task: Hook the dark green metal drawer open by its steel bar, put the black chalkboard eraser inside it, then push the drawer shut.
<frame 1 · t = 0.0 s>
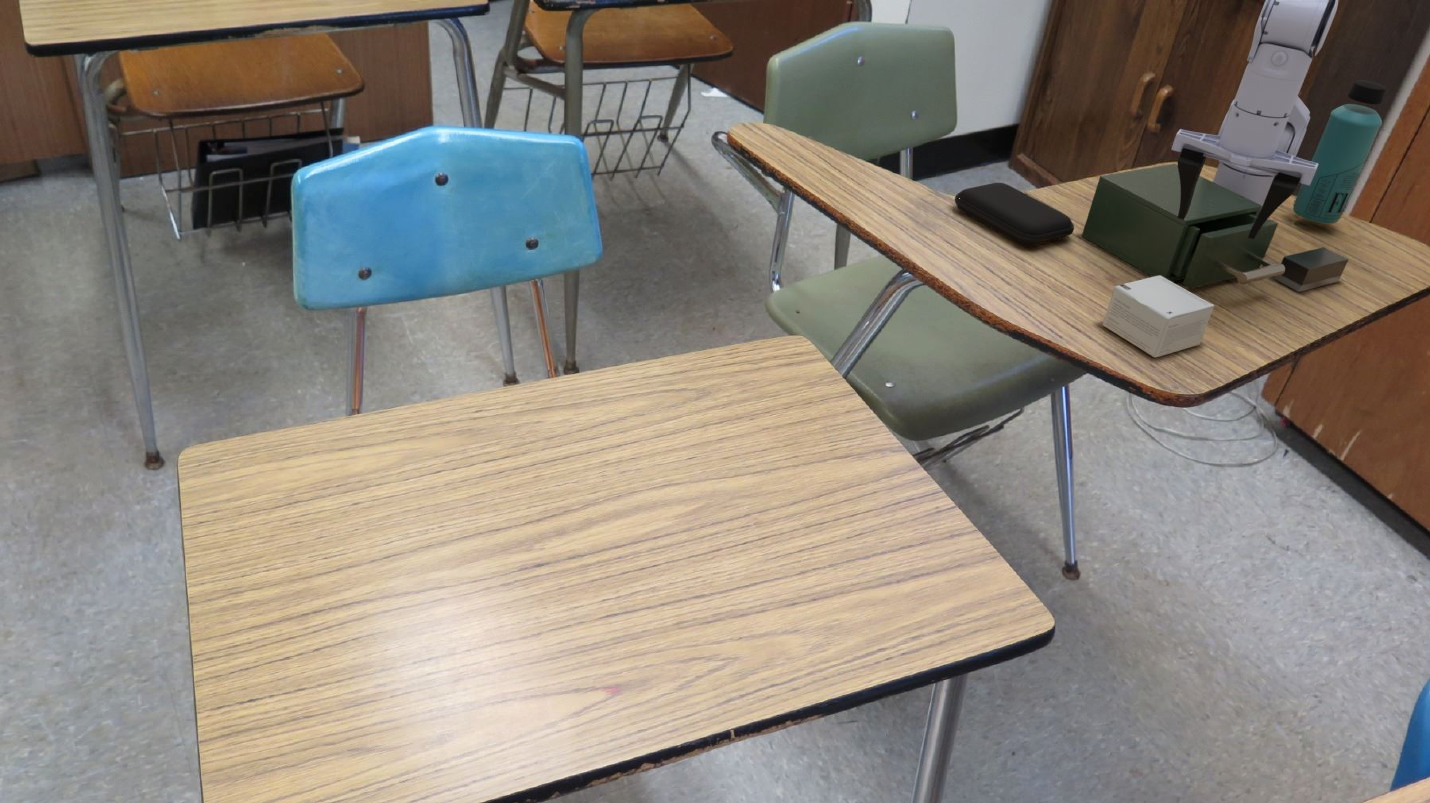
hand: (1216, 225, 122), 10 cm above the table, tool pointing down, fingers open, 7 cm apart
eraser: (1306, 280, 136), on the table
small box: (1149, 336, 121), on the table
drawer: (1207, 241, 133), point 4 cm above the table, slide at 2.0 cm
cabinet: (1158, 251, 140), on the table
carrying case: (1013, 224, 143), on the table
beverage bottle: (1310, 225, 152), on the table
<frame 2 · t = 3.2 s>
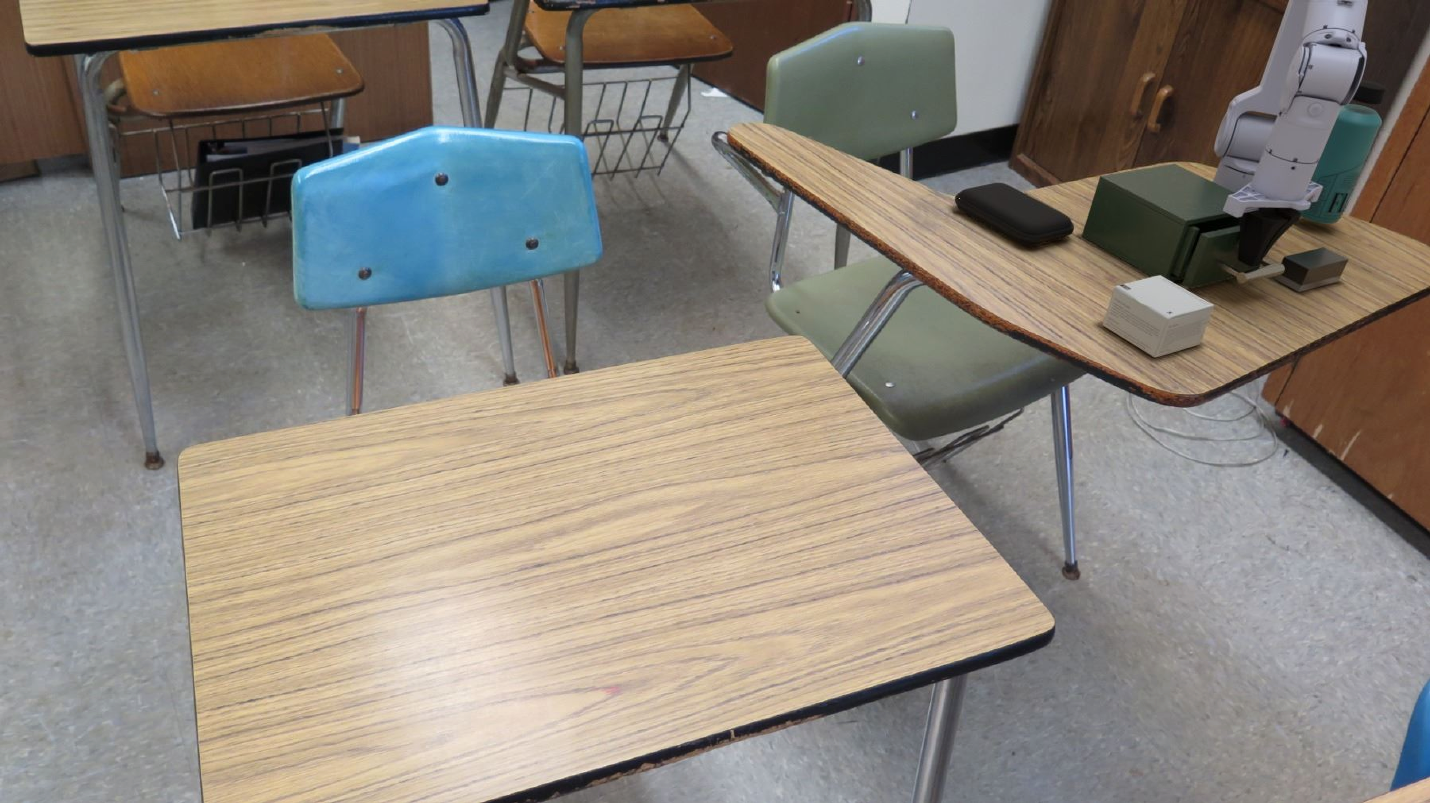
hand: (1247, 262, 129), 4 cm above the table, tool pointing down, fingers closed
nothing on the table moved.
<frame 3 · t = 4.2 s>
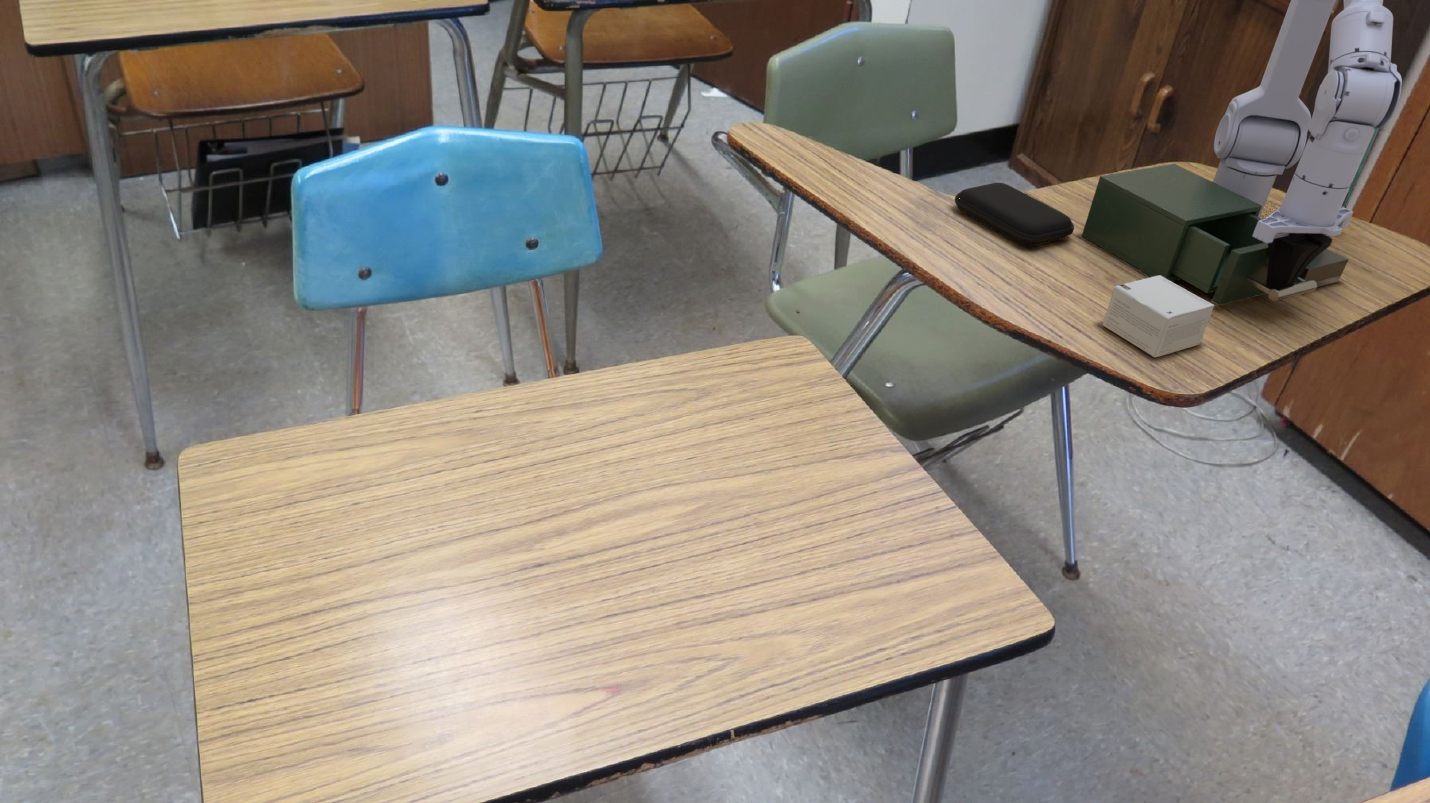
hand: (1276, 288, 126), 3 cm above the table, tool pointing down, fingers closed, pressing on drawer
drawer: (1236, 256, 130), point 4 cm above the table, slide at 6.4 cm, touching gripper
everything else where it was.
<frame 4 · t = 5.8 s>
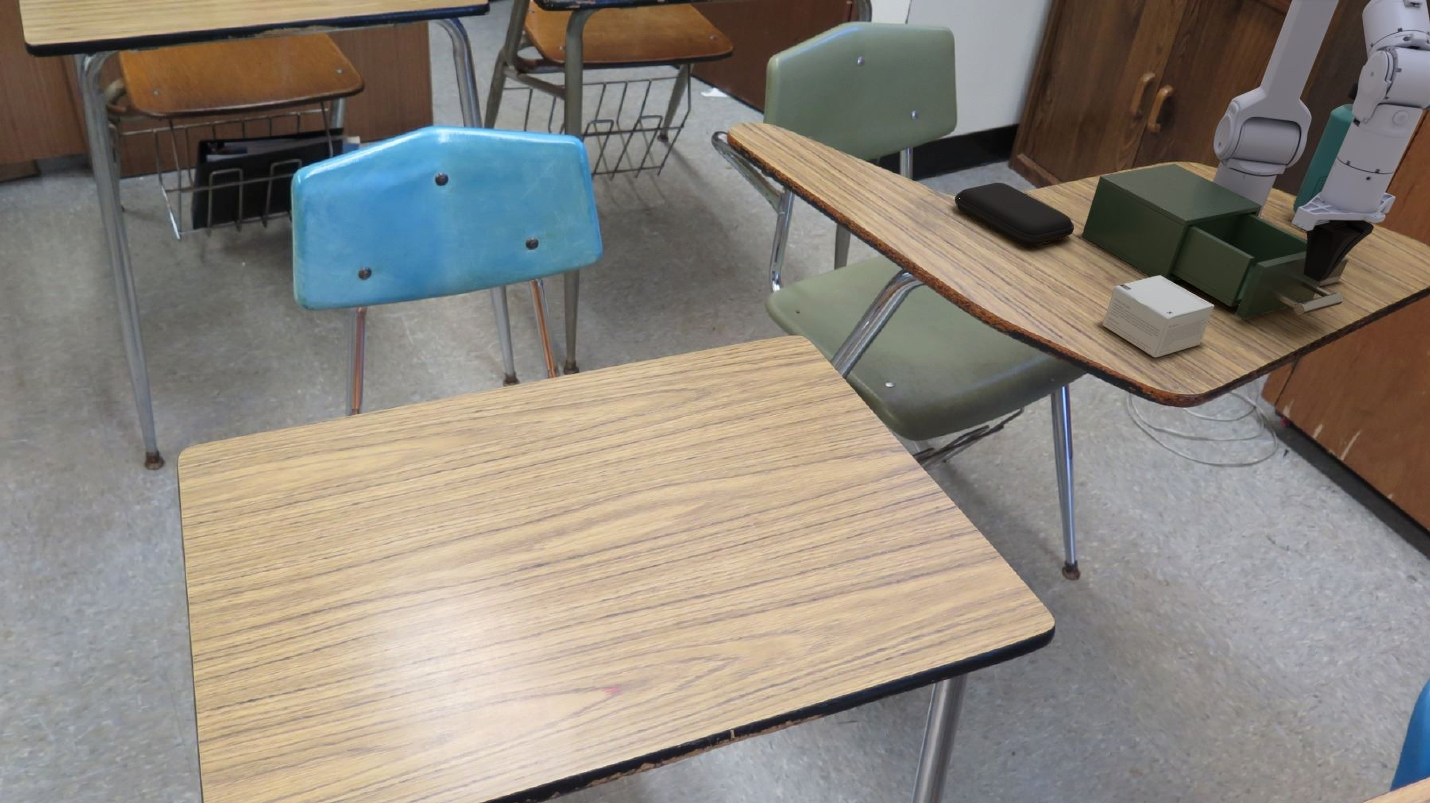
hand: (1314, 277, 122), 6 cm above the table, tool pointing down, fingers closed
drawer: (1260, 269, 128), point 4 cm above the table, slide at 9.8 cm
everything else where it was.
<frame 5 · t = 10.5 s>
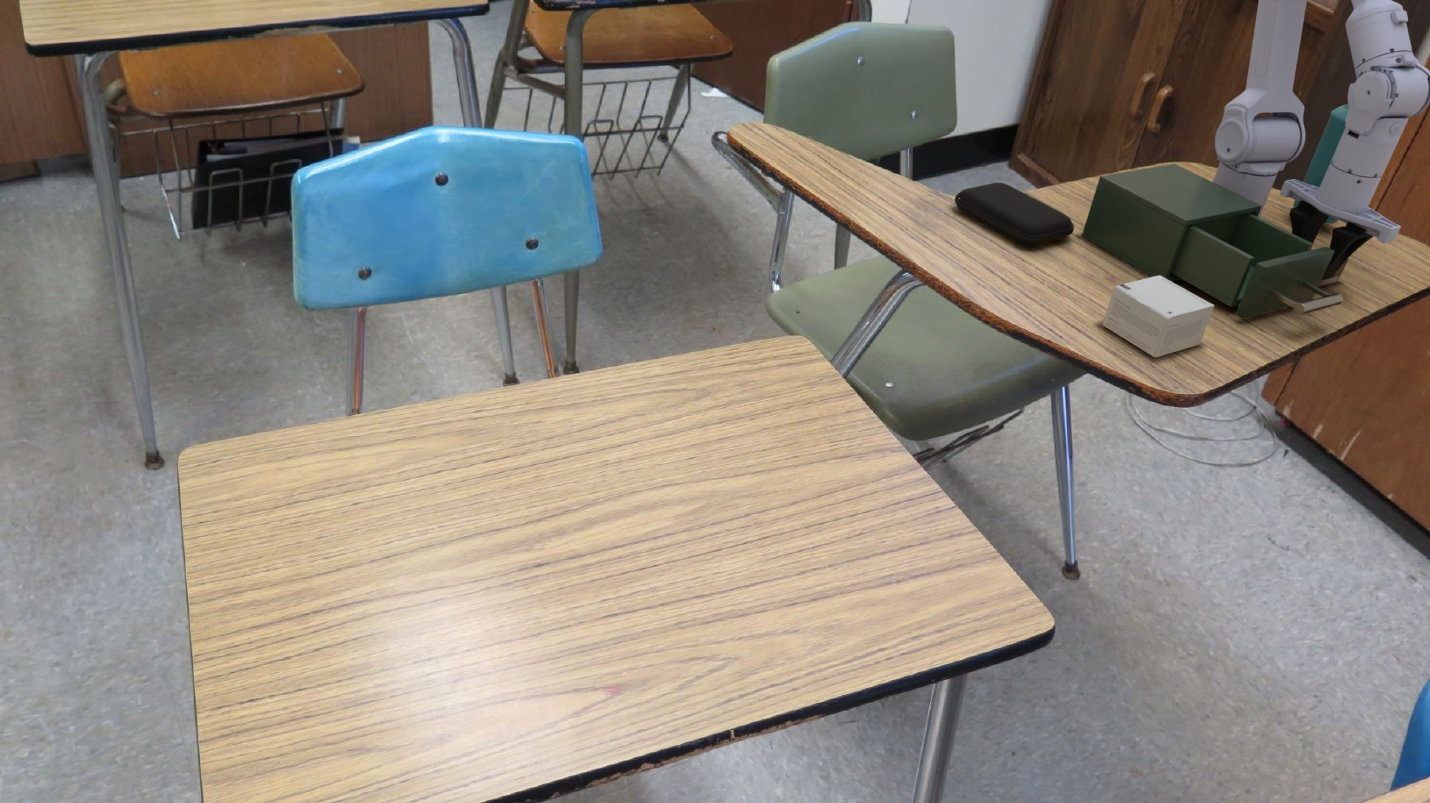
hand: (1310, 270, 135), 1 cm above the table, tool pointing down, fingers closed on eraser, 3 cm apart
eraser: (1306, 280, 136), on the table, touching gripper
everything else where it was.
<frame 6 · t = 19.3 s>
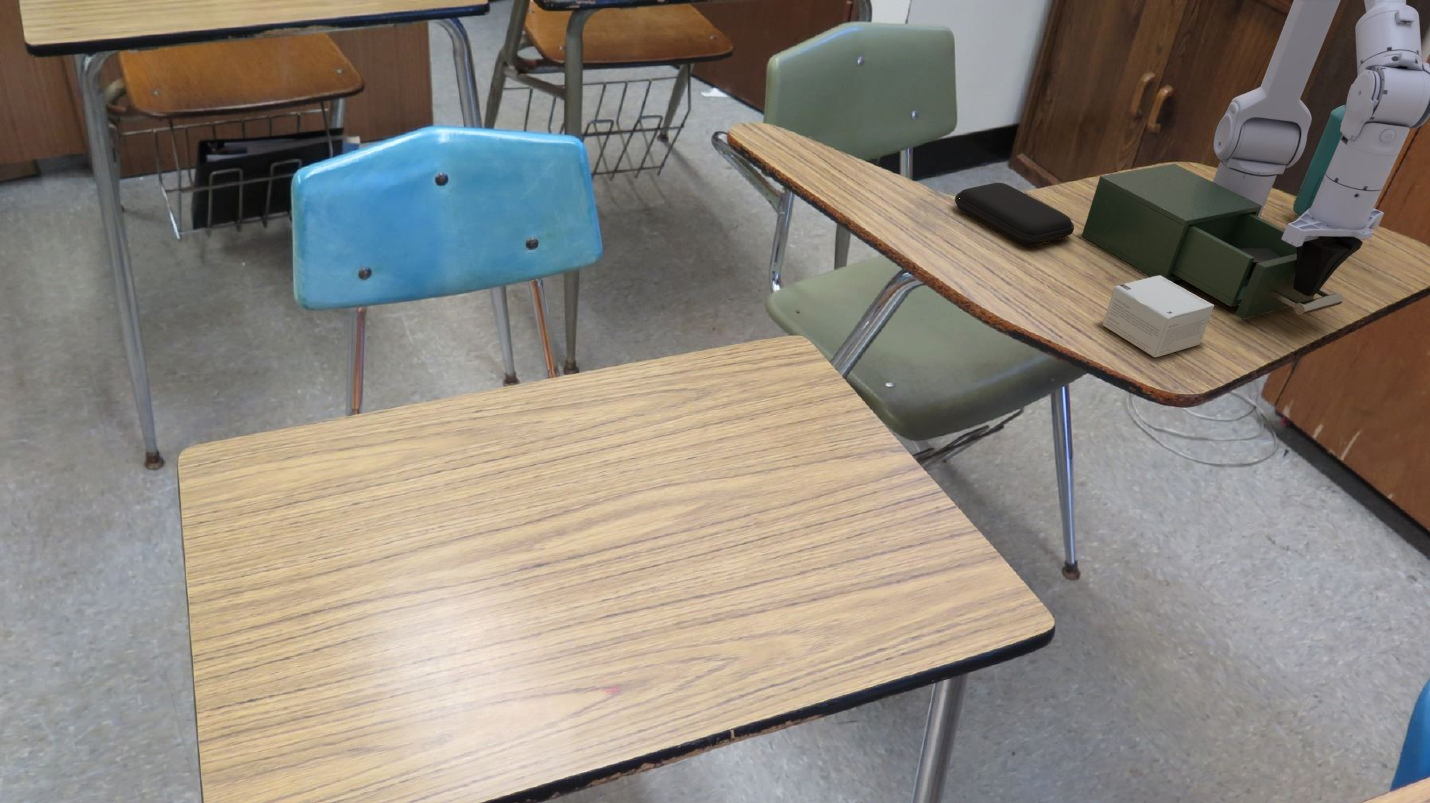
hand: (1304, 291, 123), 4 cm above the table, tool pointing down, fingers closed, pressing on drawer
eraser: (1239, 278, 130), point 2 cm above the table, touching drawer
drawer: (1260, 269, 128), point 4 cm above the table, slide at 9.8 cm, touching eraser, gripper
everything else where it was.
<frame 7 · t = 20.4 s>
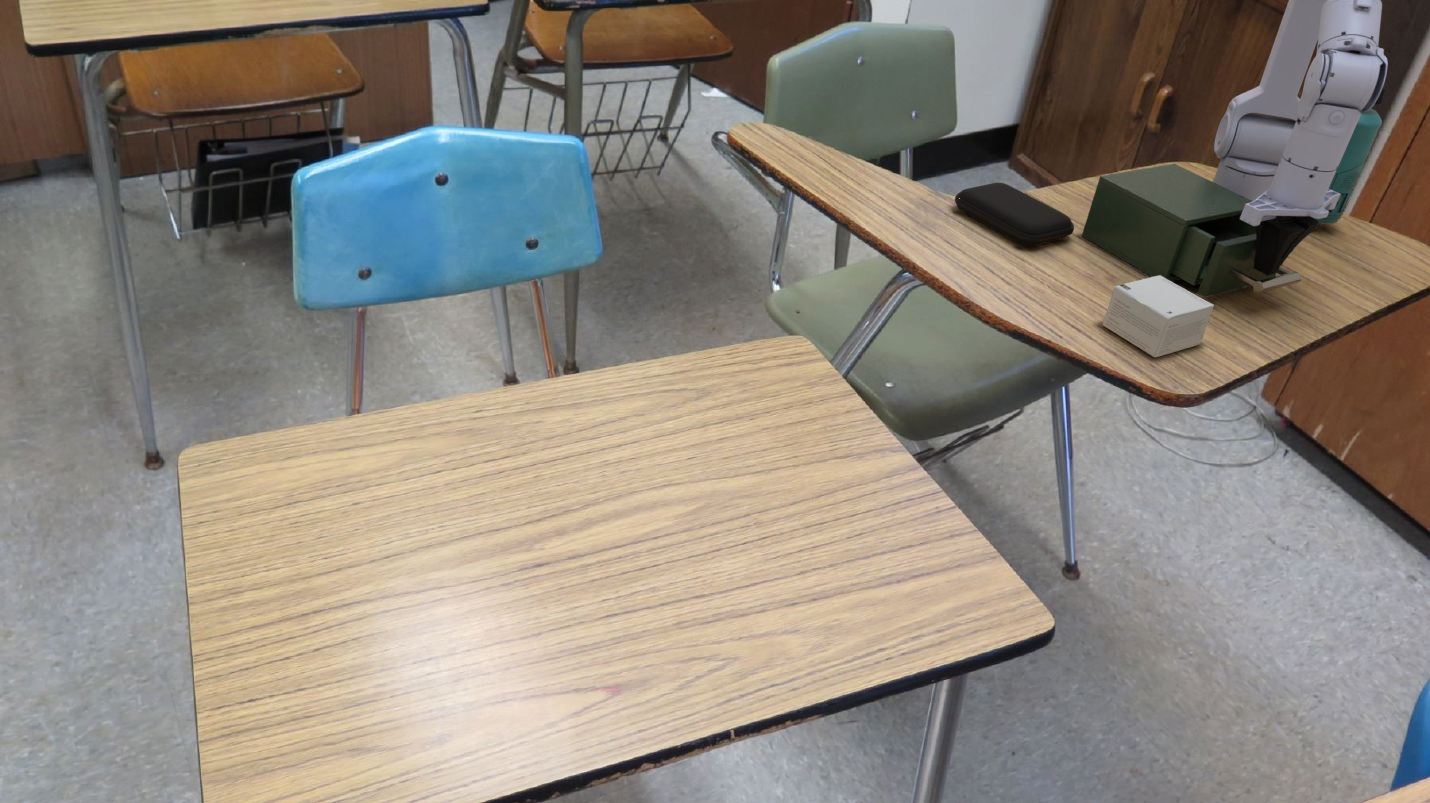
hand: (1263, 271, 127), 4 cm above the table, tool pointing down, fingers closed, pressing on drawer
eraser: (1202, 258, 134), point 2 cm above the table, touching drawer
drawer: (1222, 249, 131), point 4 cm above the table, slide at 4.3 cm, touching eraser, gripper
everything else where it was.
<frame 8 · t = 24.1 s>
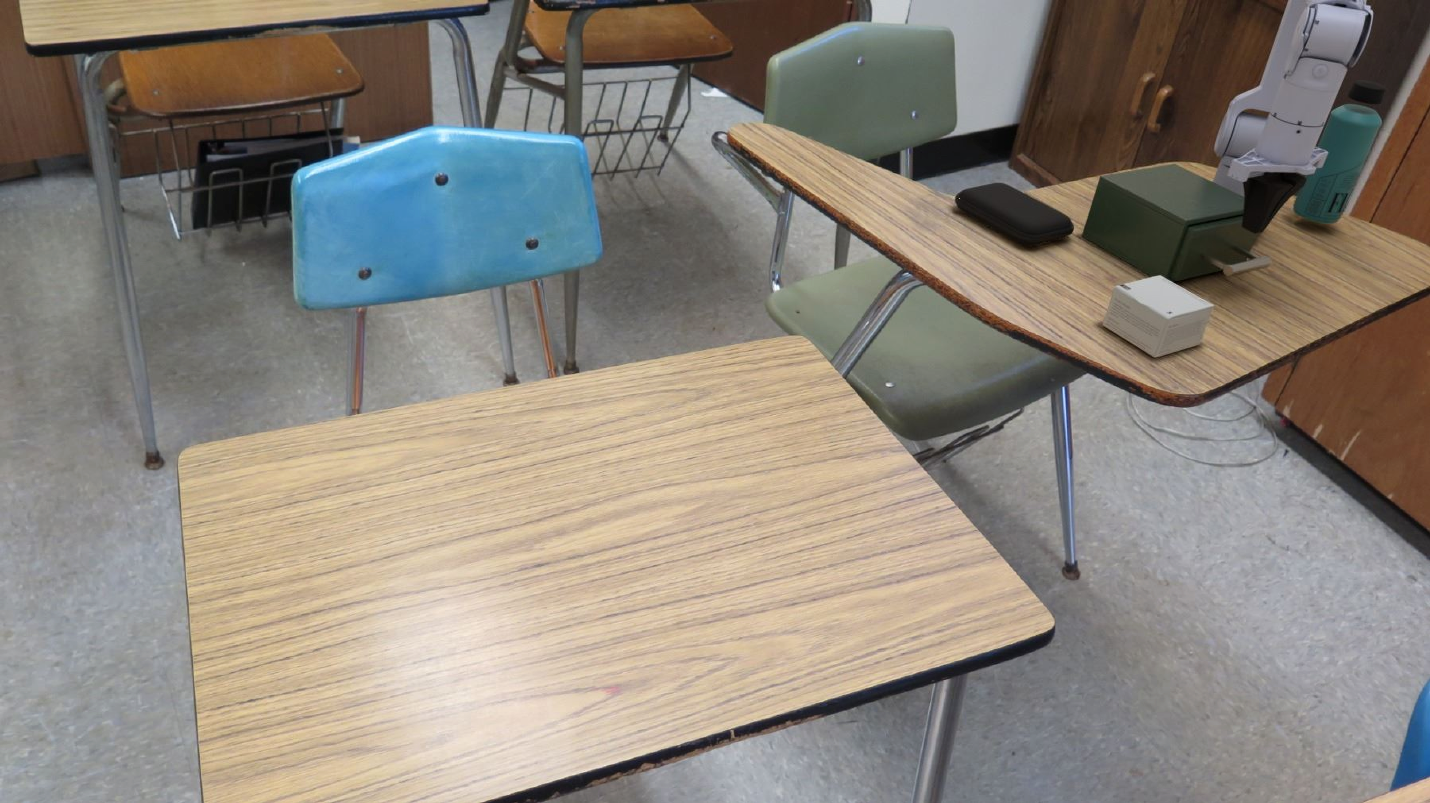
hand: (1252, 229, 127), 8 cm above the table, tool pointing down, fingers closed
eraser: (1175, 244, 137), point 2 cm above the table, touching drawer
drawer: (1194, 234, 134), point 4 cm above the table, slide at 0.0 cm, touching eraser
everything else where it was.
at the end: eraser inside the target area in the cabinet (2.0 cm from its centre), point 1.9 cm above the cabinet's base; drawer slide at 0.0 cm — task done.
